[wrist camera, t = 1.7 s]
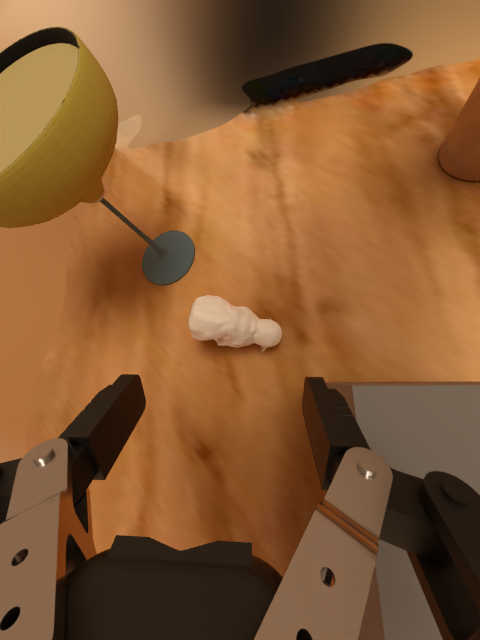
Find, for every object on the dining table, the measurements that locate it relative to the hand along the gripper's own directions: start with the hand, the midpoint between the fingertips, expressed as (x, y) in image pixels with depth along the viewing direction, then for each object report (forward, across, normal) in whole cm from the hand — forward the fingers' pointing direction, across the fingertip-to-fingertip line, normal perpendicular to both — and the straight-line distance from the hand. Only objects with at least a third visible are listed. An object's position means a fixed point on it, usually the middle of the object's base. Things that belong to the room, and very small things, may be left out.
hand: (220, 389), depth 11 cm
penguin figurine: (+22, 0, +8) cm, 24 cm away
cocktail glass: (+34, +14, -1) cm, 37 cm away
